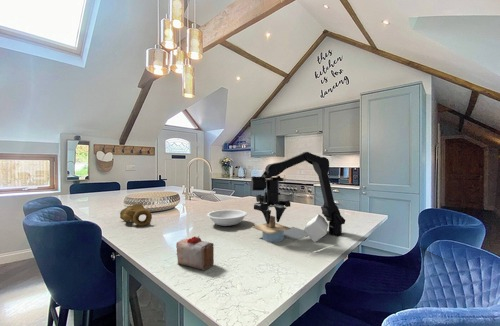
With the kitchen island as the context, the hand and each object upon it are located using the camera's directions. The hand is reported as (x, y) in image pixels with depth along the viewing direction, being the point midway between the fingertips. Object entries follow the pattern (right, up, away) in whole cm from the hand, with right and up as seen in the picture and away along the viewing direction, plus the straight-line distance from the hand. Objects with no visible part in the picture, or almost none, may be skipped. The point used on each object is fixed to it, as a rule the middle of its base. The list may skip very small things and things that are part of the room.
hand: (272, 223), depth 107 cm
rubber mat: (+11, -8, +8) cm, 16 cm away
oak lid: (-1, -3, +1) cm, 3 cm away
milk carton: (+18, -3, -5) cm, 19 cm away
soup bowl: (-24, -9, +27) cm, 38 cm away
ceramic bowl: (0, -8, 0) cm, 8 cm away
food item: (-31, -8, -26) cm, 41 cm away
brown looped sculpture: (-83, -9, +33) cm, 90 cm away
